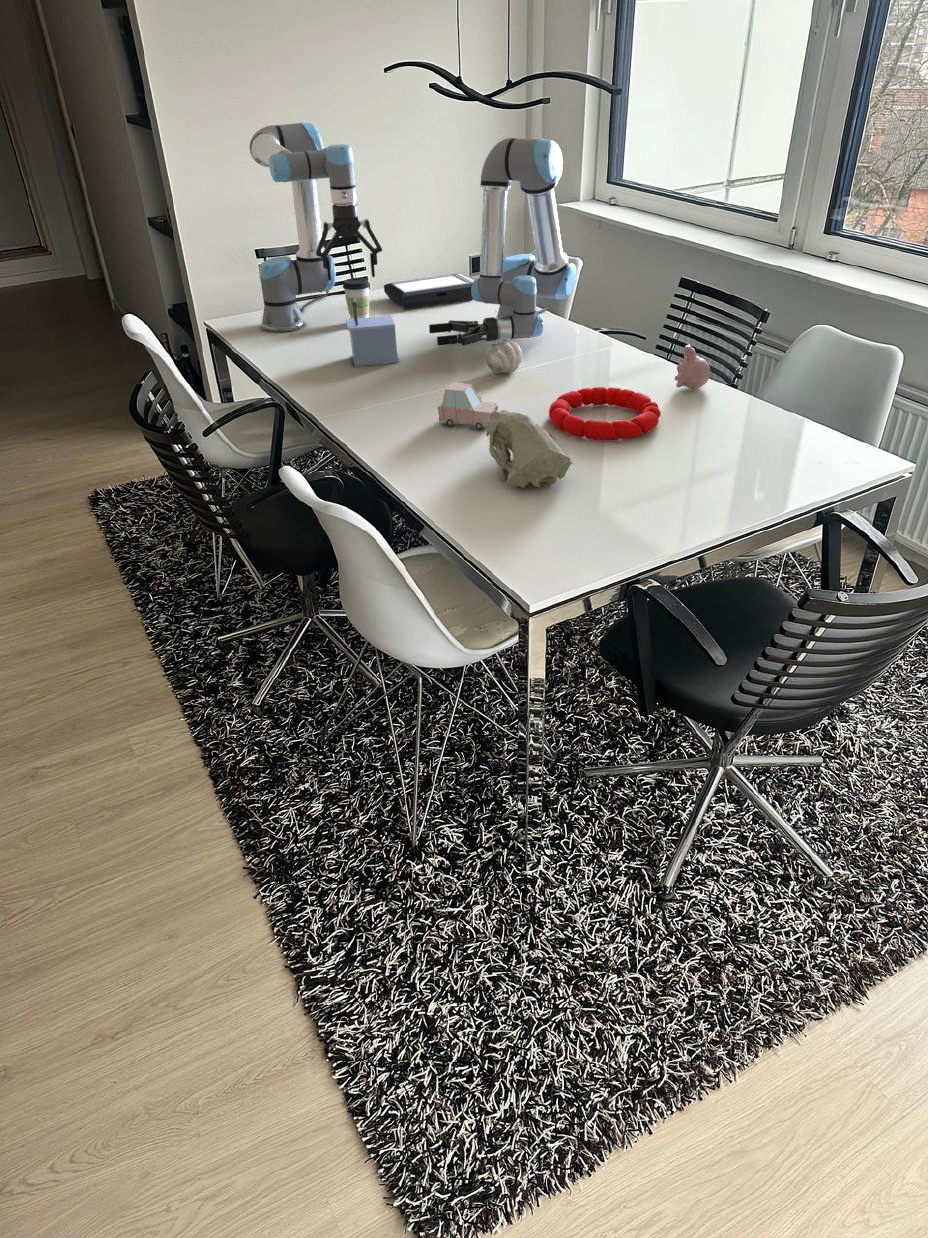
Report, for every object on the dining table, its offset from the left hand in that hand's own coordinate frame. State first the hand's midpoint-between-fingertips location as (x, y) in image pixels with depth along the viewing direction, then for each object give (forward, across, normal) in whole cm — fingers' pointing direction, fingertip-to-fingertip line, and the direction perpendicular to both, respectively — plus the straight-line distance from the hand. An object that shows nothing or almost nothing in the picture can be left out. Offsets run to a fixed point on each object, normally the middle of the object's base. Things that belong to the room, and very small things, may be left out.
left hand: (351, 277), depth 277 cm
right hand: (+20, +25, -1) cm, 31 cm away
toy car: (+26, +24, -62) cm, 71 cm away
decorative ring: (+26, +60, -70) cm, 96 cm away
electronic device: (+26, +35, +66) cm, 79 cm away
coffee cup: (+26, +4, +42) cm, 50 cm away
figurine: (+26, +93, -53) cm, 110 cm away
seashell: (+26, +44, -24) cm, 56 cm away
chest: (+26, +5, 0) cm, 27 cm away
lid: (+15, +4, 0) cm, 16 cm away
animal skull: (+26, +31, -94) cm, 103 cm away
